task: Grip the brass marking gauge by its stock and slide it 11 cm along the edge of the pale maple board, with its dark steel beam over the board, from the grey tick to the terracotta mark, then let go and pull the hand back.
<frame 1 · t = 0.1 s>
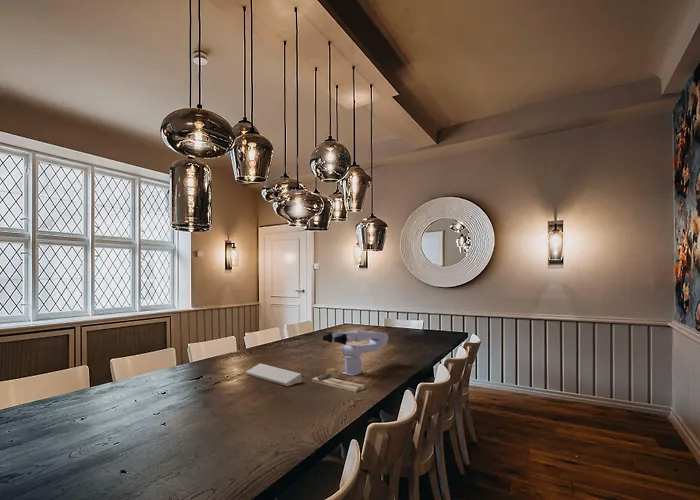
hand: (328, 339, 194), 22 cm above the table, tool horizontal, fingers open, 7 cm apart
marking gauge: (331, 379, 197), on the table
decorative molding: (272, 379, 199), on the table
maple board: (337, 384, 187), on the table
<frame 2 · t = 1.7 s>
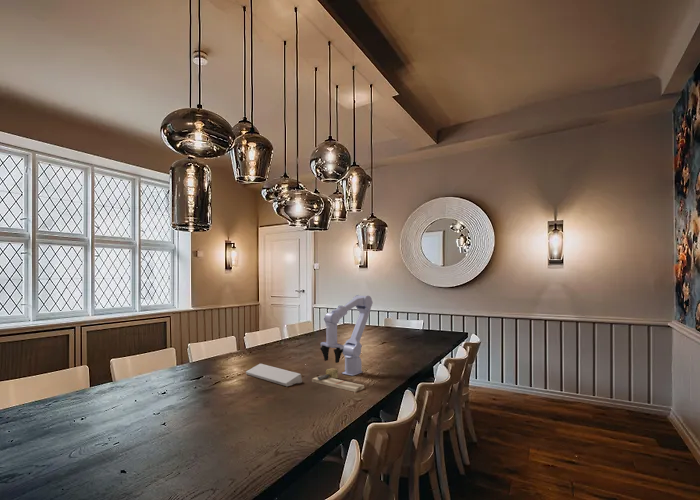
hand: (331, 361, 198), 9 cm above the table, tool pointing down, fingers open, 7 cm apart
nothing on the table moved.
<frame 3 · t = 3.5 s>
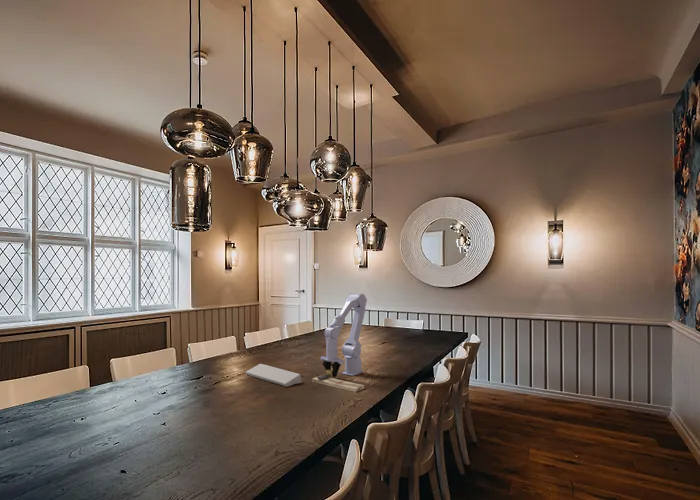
hand: (331, 376, 197), 1 cm above the table, tool pointing down, fingers closed on marking gauge, 4 cm apart
marking gauge: (331, 378, 197), on the table, touching gripper
everything else where it was.
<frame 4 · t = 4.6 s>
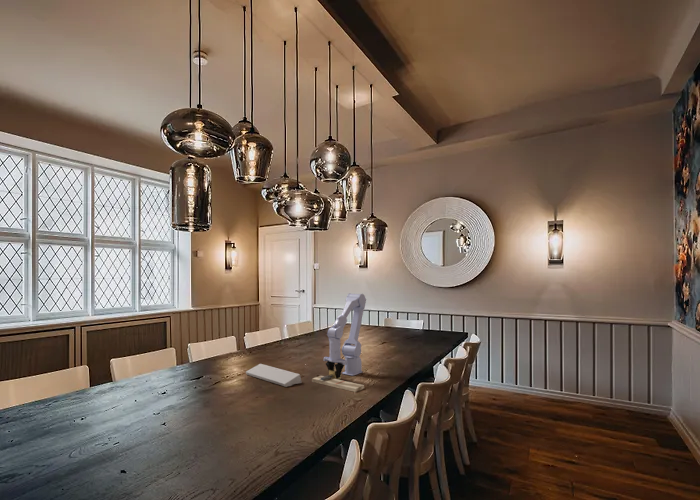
hand: (335, 376, 196), 1 cm above the table, tool pointing down, fingers closed on marking gauge, 4 cm apart
marking gauge: (335, 379, 196), on the table, touching gripper
everything else where it was.
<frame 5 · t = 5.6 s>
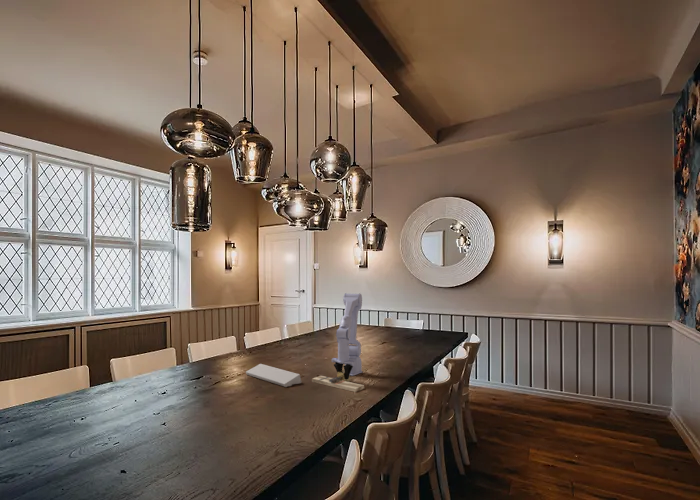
hand: (343, 378, 193), 2 cm above the table, tool pointing down, fingers closed on marking gauge, 4 cm apart
marking gauge: (343, 381, 192), on the table, touching gripper
everything else where it was.
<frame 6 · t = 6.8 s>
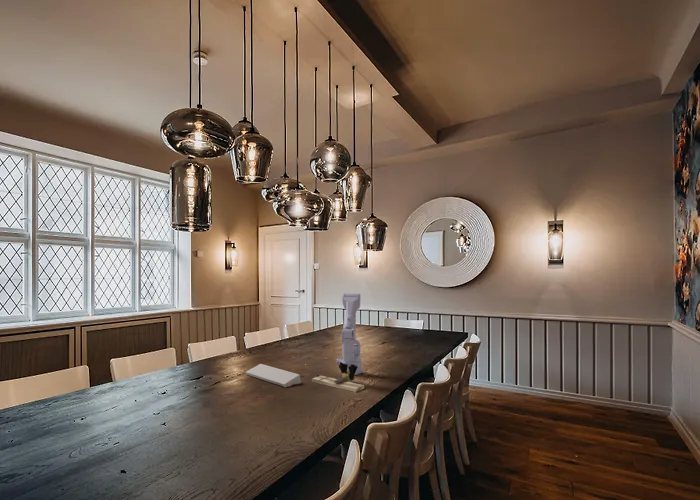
hand: (348, 379, 191), 2 cm above the table, tool pointing down, fingers closed on marking gauge, 4 cm apart
marking gauge: (348, 382, 191), on the table, touching gripper
when the fingers open (2 cm above the table, at t = 7.6 s): marking gauge stays where it is, on the table.
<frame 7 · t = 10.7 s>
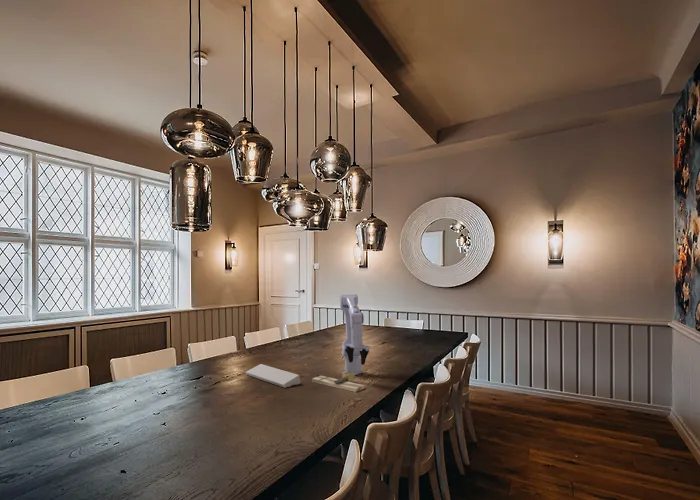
hand: (357, 363, 192), 9 cm above the table, tool pointing down, fingers open, 7 cm apart
marking gauge: (348, 382, 191), on the table
at the end: marking gauge 0.4 cm from the target spot, on the table; marking gauge tilted 0°; the gripper is holding nothing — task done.
